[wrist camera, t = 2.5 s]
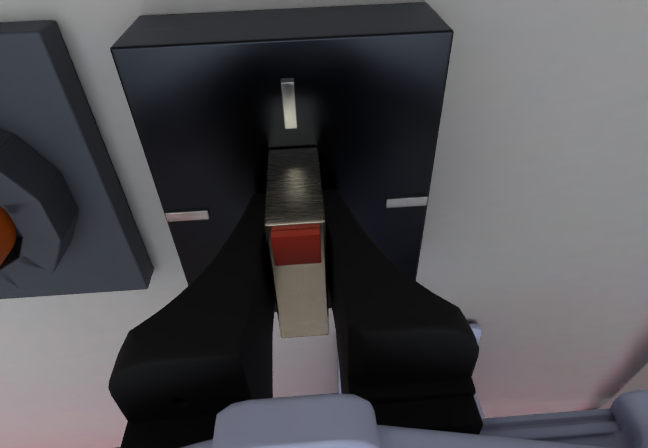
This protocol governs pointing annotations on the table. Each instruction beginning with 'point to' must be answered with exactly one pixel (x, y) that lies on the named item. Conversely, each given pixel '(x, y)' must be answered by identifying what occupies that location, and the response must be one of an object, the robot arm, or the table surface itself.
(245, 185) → the dial panel
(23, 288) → the button housing
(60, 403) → the table surface
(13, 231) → the button
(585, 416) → the robot arm
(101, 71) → the table surface
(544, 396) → the table surface
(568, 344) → the table surface
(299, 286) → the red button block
